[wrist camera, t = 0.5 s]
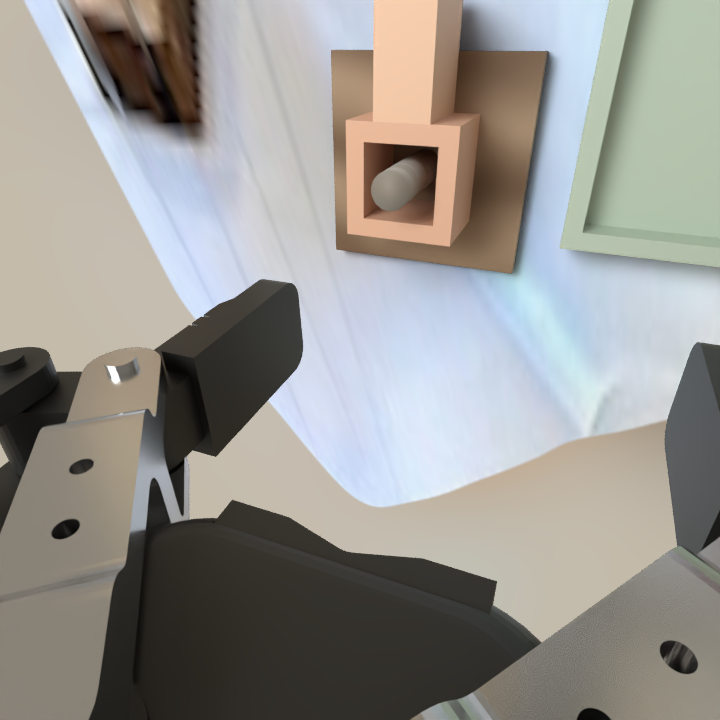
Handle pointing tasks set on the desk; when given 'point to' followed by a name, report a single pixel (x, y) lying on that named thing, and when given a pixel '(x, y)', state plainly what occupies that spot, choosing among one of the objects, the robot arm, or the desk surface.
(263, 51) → the desk surface
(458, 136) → the orange block with hole
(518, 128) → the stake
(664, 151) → the tray
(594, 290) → the desk surface
